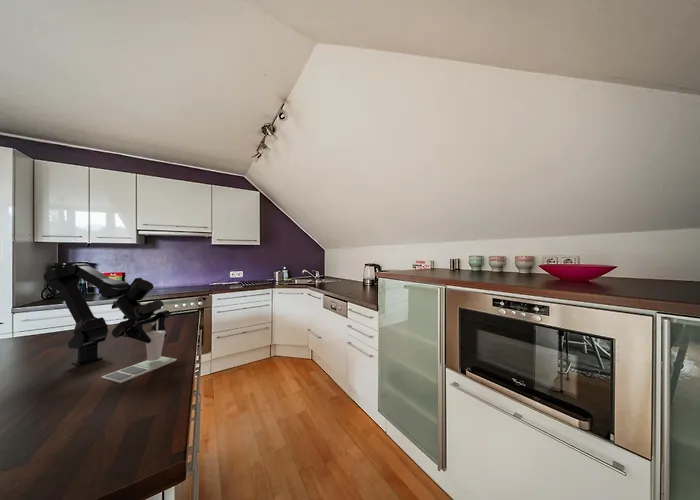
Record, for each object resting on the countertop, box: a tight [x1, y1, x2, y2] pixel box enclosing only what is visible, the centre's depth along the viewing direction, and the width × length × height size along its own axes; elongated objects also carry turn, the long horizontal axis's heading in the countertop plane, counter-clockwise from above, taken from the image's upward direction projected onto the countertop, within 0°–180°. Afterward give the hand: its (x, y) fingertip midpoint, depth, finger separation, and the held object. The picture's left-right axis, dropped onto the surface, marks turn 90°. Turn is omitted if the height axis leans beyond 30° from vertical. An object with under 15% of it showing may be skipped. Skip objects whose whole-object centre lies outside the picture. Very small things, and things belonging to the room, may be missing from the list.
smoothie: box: [145, 320, 167, 361], centre depth 90 cm, size 6×6×14 cm
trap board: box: [100, 355, 177, 384], centre depth 86 cm, size 10×18×1 cm, turn 161°
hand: (158, 339), depth 90 cm, fingers closed on smoothie, 6 cm apart
